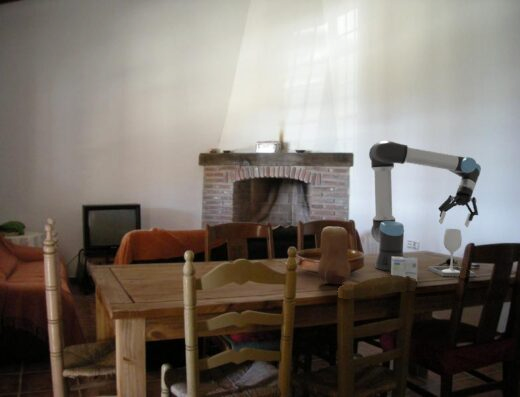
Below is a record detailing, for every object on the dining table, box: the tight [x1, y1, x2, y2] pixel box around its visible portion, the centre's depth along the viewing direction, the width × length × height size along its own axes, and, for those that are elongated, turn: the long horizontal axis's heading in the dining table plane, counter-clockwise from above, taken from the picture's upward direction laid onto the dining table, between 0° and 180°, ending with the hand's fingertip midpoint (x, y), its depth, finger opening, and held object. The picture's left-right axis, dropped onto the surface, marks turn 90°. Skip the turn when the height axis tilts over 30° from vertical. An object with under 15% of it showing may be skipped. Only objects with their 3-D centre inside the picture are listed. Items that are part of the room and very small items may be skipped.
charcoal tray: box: [427, 265, 476, 278], centre depth 239 cm, size 16×16×2 cm
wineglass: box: [442, 228, 463, 272], centre depth 238 cm, size 9×9×21 cm
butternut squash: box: [317, 226, 351, 286], centre depth 209 cm, size 14×13×25 cm
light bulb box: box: [390, 256, 419, 282], centre depth 218 cm, size 11×7×11 cm, turn 84°
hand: (453, 224), depth 250 cm, fingers open, 13 cm apart
